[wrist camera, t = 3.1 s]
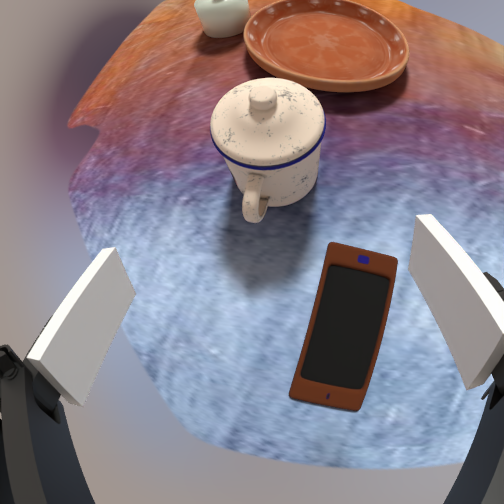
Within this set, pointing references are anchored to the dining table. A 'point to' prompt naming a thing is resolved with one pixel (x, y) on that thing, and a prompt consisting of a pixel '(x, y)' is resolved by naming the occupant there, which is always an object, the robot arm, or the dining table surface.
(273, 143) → the teacup with lid
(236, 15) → the sugar bowl
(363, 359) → the smartphone
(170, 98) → the dining table surface
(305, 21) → the saucer
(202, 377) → the dining table surface
